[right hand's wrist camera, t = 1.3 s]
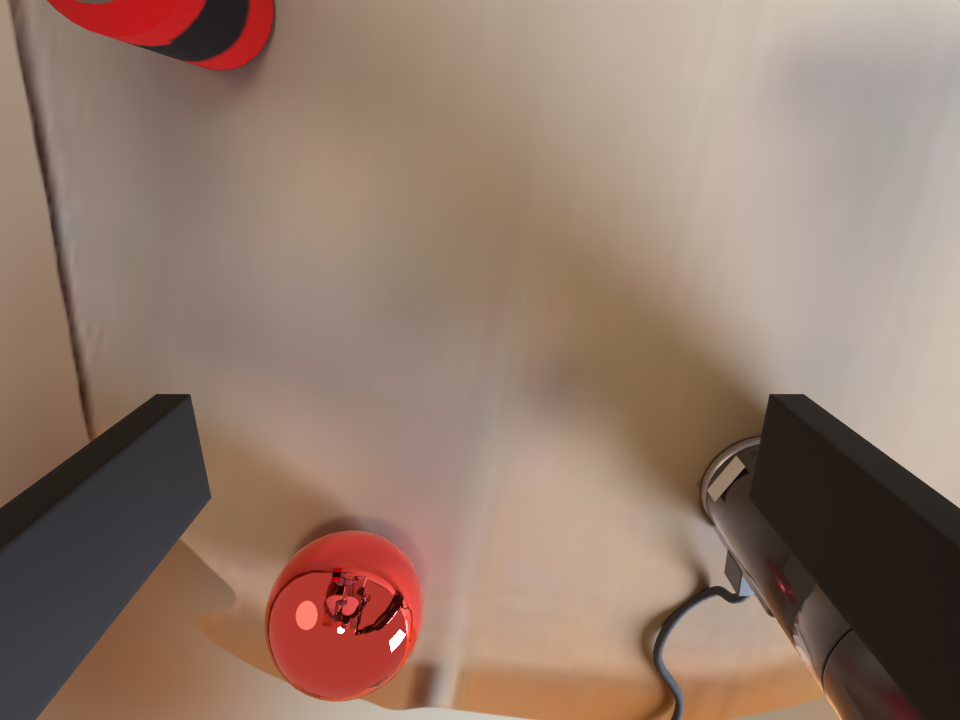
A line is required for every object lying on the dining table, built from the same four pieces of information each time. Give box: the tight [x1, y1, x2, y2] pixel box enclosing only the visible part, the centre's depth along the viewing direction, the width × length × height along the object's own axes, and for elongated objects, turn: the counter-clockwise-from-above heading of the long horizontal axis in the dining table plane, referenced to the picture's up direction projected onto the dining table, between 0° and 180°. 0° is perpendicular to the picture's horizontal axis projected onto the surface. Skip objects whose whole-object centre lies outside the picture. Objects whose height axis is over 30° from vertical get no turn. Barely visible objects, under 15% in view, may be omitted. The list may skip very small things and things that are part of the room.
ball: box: [265, 530, 424, 701], centre depth 42 cm, size 12×12×12 cm
